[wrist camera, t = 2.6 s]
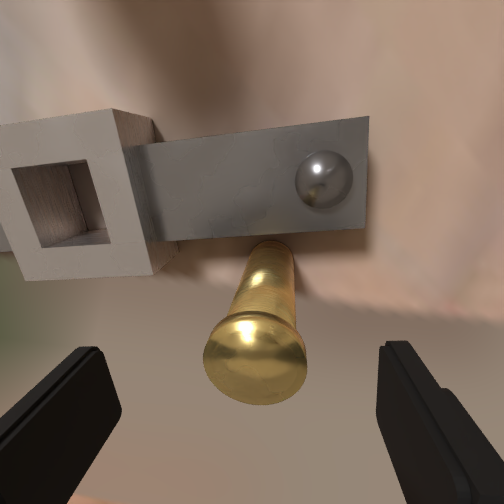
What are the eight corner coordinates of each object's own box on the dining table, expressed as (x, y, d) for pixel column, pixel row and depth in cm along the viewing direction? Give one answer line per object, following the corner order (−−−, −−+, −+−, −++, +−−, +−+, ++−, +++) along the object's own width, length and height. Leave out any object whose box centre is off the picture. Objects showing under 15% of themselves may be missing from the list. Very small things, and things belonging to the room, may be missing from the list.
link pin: (296, 234, 16) (305, 320, 8) (299, 284, 17) (309, 406, 9) (241, 237, 17) (194, 322, 8) (247, 286, 18) (211, 403, 10)
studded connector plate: (356, 88, 13) (379, 66, 10) (353, 241, 16) (370, 265, 13) (-112, 155, 18) (-204, 156, 15) (-54, 265, 21) (-121, 287, 17)
